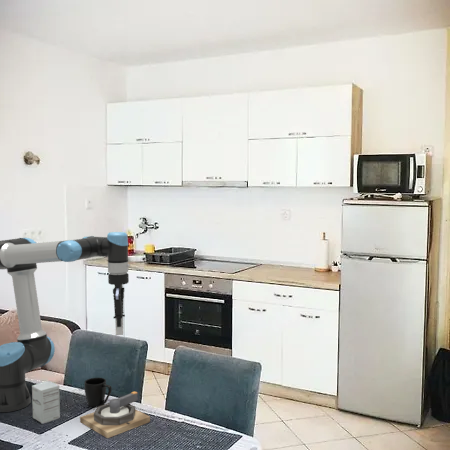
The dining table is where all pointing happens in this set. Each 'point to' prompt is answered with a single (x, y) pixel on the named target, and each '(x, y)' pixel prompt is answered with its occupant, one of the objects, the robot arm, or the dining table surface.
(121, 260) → the robot arm
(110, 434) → the dial board
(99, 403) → the mug
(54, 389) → the supplement box
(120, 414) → the dial
